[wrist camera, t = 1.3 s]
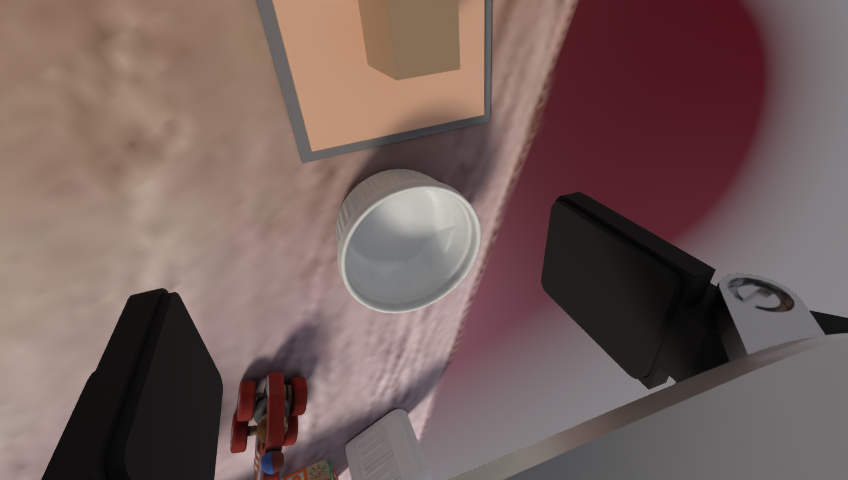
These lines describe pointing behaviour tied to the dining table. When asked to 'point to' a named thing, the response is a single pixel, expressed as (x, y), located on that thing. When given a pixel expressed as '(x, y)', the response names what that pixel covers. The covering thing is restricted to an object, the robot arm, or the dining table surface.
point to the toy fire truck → (269, 421)
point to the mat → (307, 155)
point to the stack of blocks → (314, 472)
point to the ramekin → (405, 240)
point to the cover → (382, 65)
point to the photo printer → (387, 451)
